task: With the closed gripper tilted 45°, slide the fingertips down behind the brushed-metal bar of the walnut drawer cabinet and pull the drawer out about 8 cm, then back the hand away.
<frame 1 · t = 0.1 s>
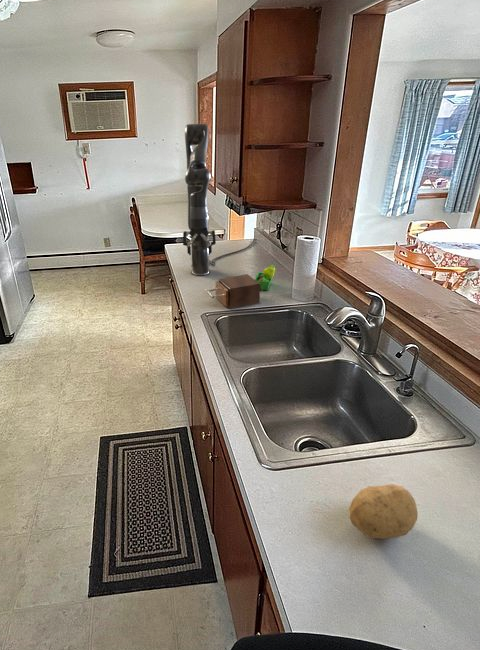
hand: (199, 254, 172), 22 cm above the counter, tool pointing down, fingers open, 8 cm apart
drawer: (228, 292, 176), point 5 cm above the counter, slide at 0.5 cm
cabinet: (238, 300, 180), on the counter
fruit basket: (264, 287, 193), on the counter
potato: (377, 526, 79), on the counter
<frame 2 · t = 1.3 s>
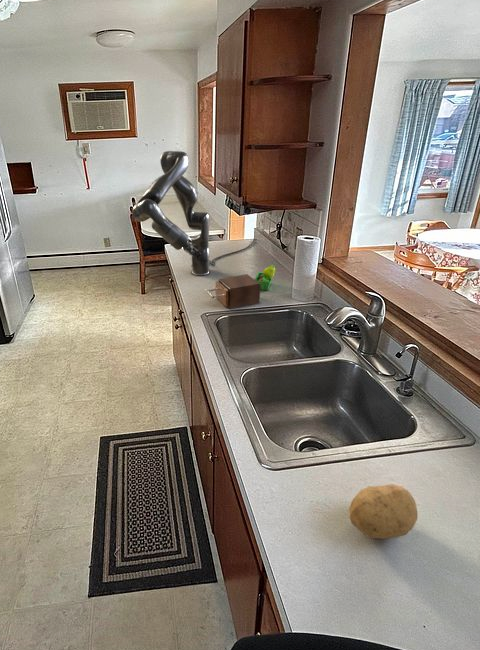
hand: (202, 259, 166), 22 cm above the counter, tool tilted 45°, fingers open, 5 cm apart
nothing on the counter moved.
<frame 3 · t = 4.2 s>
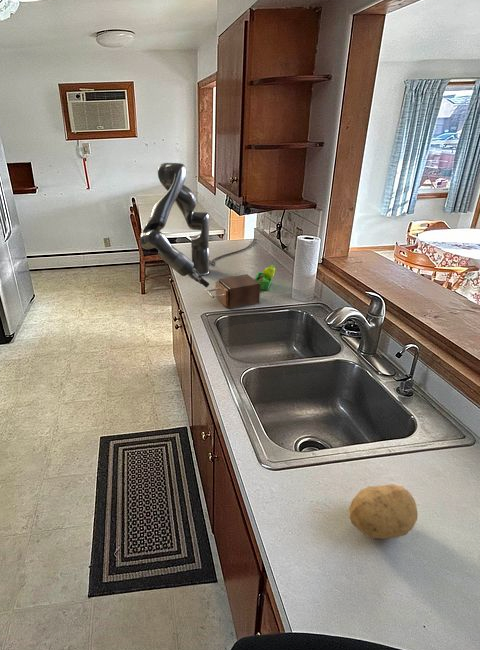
hand: (207, 285, 172), 10 cm above the counter, tool tilted 45°, fingers closed
nothing on the counter moved.
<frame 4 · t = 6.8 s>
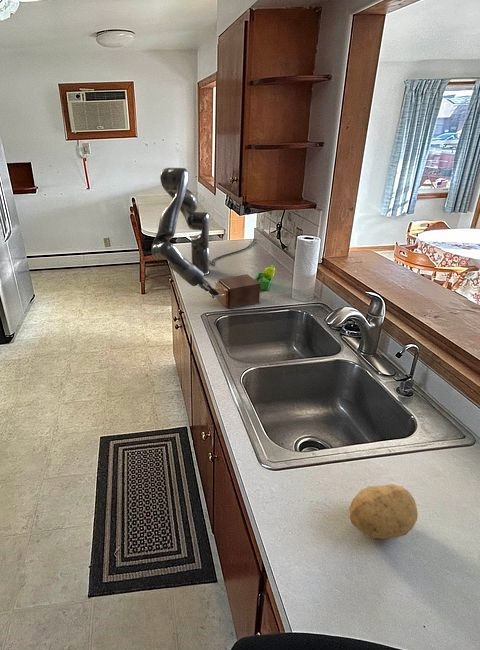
hand: (216, 294, 175), 5 cm above the counter, tool tilted 45°, fingers closed
drawer: (228, 292, 176), point 5 cm above the counter, slide at 0.5 cm, touching gripper
everything else where it was.
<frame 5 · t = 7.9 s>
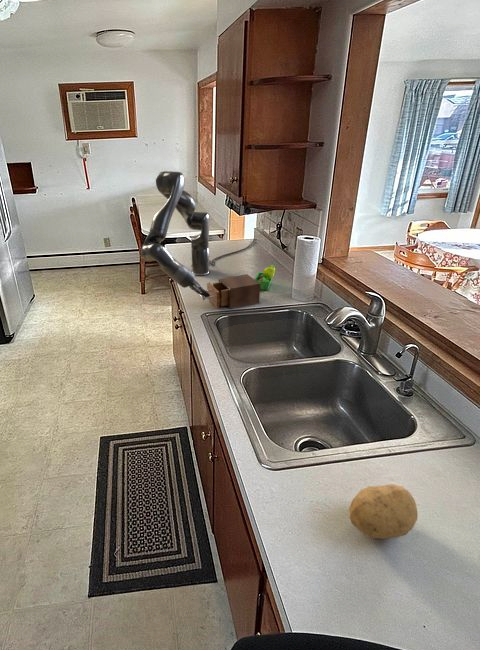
hand: (208, 296, 174), 5 cm above the counter, tool tilted 45°, fingers closed
drawer: (219, 294, 175), point 5 cm above the counter, slide at 4.7 cm, touching gripper
everything else where it was.
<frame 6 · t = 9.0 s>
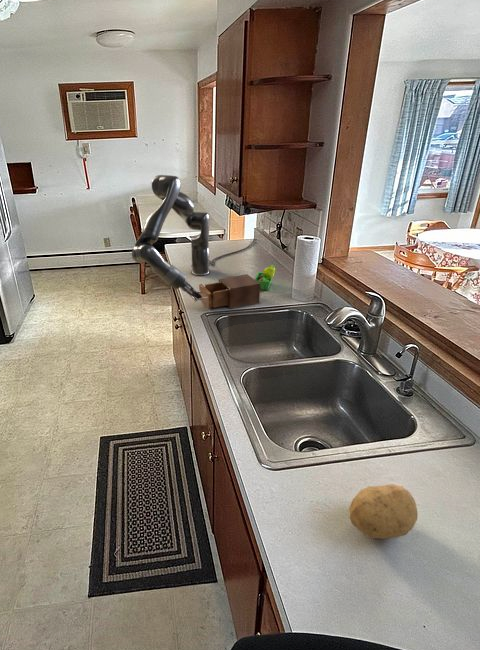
hand: (200, 297, 173), 5 cm above the counter, tool tilted 45°, fingers closed
drawer: (211, 295, 174), point 5 cm above the counter, slide at 8.6 cm, touching gripper
everything else where it was.
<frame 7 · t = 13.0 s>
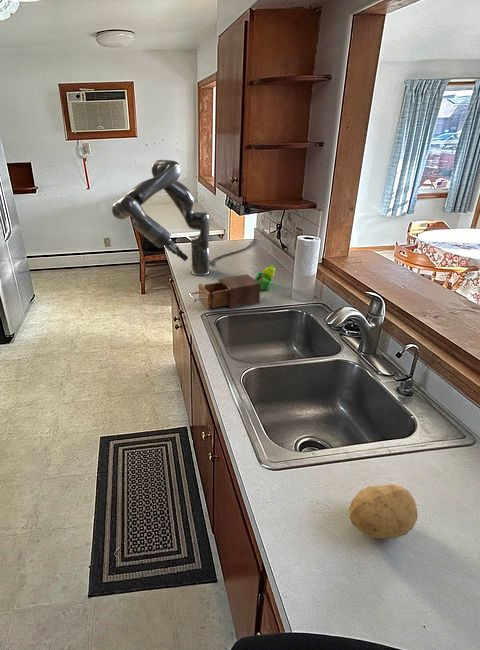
hand: (186, 258, 163), 24 cm above the counter, tool tilted 45°, fingers closed
drawer: (211, 295, 174), point 5 cm above the counter, slide at 8.8 cm
everything else where it was.
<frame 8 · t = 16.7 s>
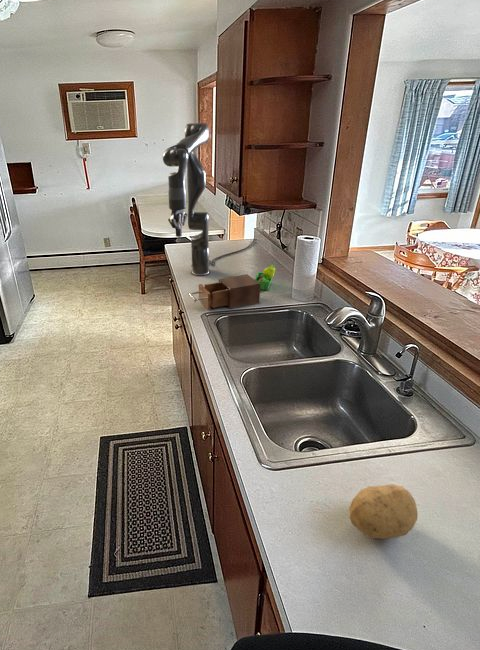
hand: (178, 236, 176), 29 cm above the counter, tool pointing down, fingers closed
nothing on the counter moved.
at the end: drawer slide at 8.8 cm; the gripper is holding nothing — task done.
